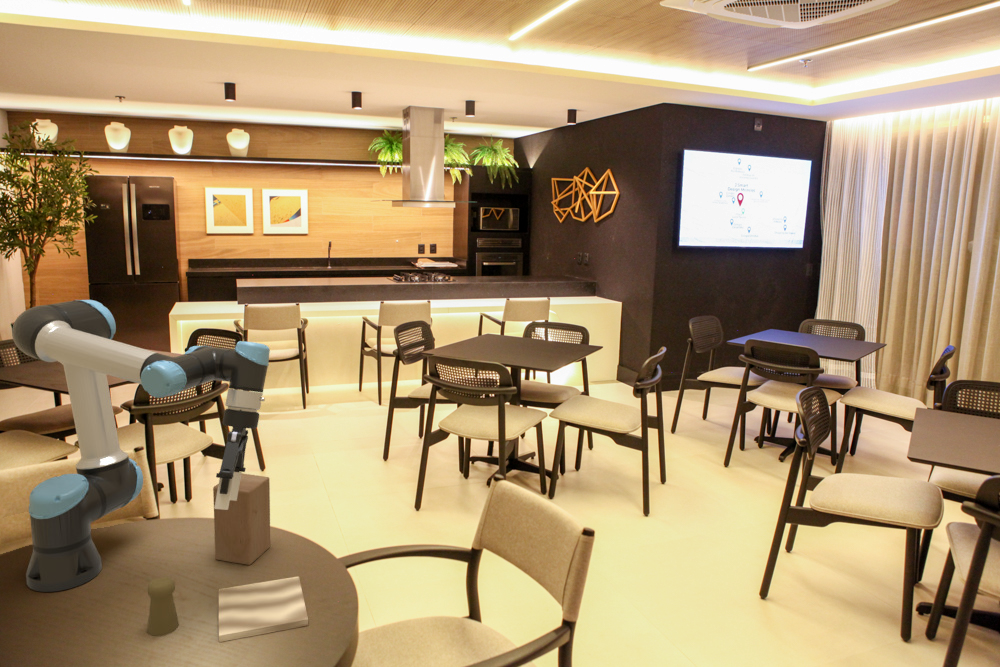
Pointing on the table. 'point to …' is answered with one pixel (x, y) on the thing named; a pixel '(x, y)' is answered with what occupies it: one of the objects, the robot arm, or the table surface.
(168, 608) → the olive pawn
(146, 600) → the table surface
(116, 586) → the table surface
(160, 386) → the robot arm
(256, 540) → the wooden block
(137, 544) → the table surface
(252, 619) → the birch board
